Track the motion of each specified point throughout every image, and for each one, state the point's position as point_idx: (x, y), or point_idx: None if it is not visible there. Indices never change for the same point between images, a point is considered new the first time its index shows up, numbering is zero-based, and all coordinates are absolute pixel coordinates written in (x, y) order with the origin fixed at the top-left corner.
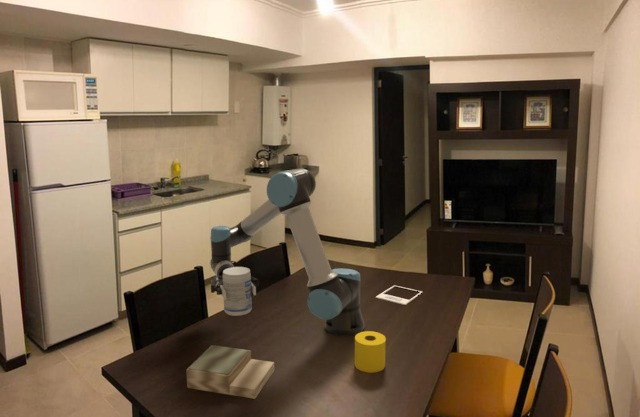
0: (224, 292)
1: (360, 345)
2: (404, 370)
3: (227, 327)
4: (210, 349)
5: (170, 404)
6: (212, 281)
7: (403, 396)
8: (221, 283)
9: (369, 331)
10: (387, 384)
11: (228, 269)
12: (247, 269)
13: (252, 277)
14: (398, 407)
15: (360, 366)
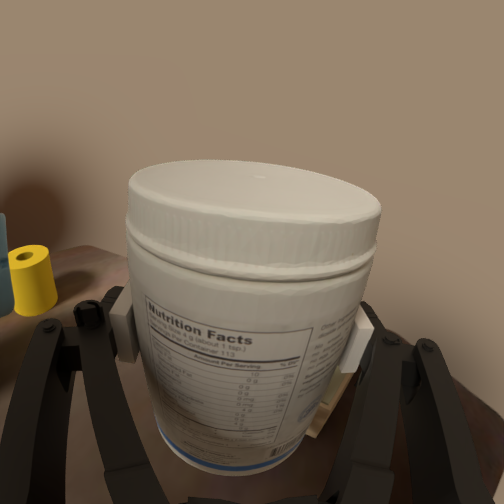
0: None
1: (48, 257)
2: None
3: None
4: (332, 384)
5: None
6: (461, 419)
7: (75, 256)
8: (373, 369)
9: None
10: (65, 271)
11: (336, 199)
12: (155, 170)
13: (29, 383)
14: (96, 251)
15: (56, 292)
